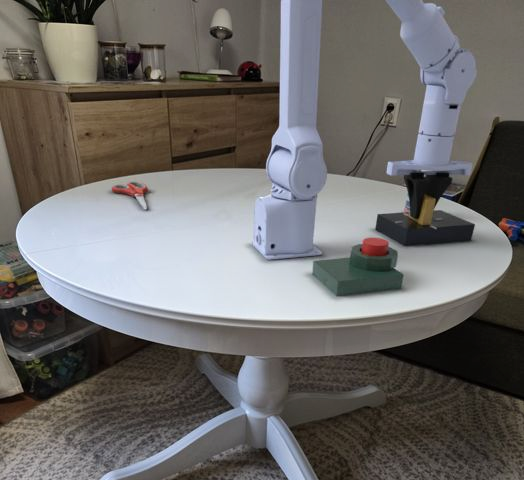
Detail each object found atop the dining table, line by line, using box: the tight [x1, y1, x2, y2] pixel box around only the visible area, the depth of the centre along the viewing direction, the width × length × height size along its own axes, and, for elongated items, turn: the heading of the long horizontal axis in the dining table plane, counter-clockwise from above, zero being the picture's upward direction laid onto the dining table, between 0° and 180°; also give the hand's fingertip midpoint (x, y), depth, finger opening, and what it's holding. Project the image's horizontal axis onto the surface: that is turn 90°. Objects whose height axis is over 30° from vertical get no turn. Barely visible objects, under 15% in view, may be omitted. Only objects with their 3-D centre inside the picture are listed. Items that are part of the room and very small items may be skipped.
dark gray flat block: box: [374, 209, 476, 247], centre depth 88 cm, size 14×11×3 cm
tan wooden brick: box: [409, 194, 436, 225], centre depth 85 cm, size 6×2×5 cm, turn 10°
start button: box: [361, 237, 390, 256], centre depth 68 cm, size 4×4×2 cm
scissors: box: [111, 181, 149, 211], centre depth 107 cm, size 8×21×2 cm, turn 35°
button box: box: [311, 243, 405, 297], centre depth 68 cm, size 11×8×4 cm
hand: (420, 217), depth 86 cm, fingers closed on tan wooden brick, 2 cm apart
